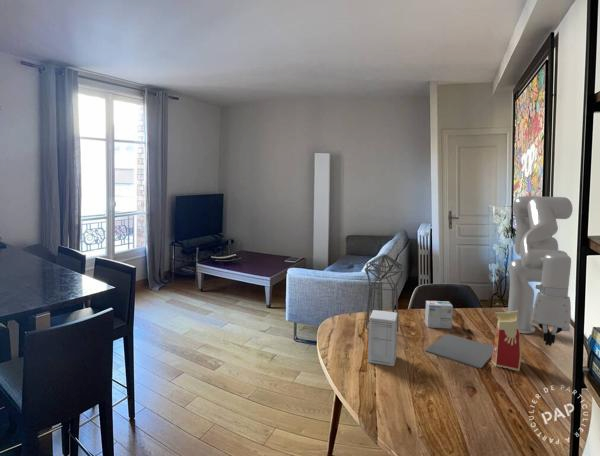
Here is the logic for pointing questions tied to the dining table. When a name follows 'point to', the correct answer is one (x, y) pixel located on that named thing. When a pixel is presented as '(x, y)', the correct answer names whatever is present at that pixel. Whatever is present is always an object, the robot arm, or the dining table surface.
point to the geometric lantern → (384, 283)
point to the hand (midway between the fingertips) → (548, 344)
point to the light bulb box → (438, 314)
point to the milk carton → (507, 342)
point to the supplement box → (382, 337)
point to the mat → (462, 350)
